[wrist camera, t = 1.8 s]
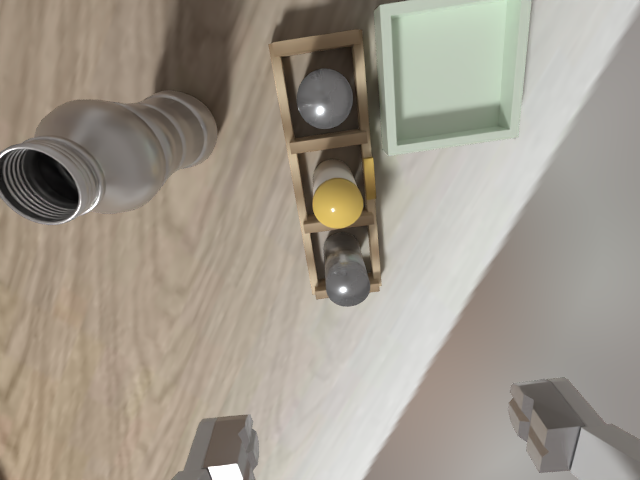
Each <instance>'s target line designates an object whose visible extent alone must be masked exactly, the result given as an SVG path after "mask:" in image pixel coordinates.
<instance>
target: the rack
mask: <svg viewBox="0 0 640 480" xmlns="http://www.w3.org/2000/svg"><path fill="white" fill-rule="evenodd" d="M268 45H269V51H270V56H271V62H272V68H273V73H274V79H275V85H276V90H277V96H278V101H279V107H280V113H281V118H282V124H283V130H284V135H285V141H286V147H287V152H288V158H289V164H290V169H291V175H292V181H293V186H294V192H295V198H296V203H297V209H298V215H299V220H300V226H301V232H302V237H303V243H304V249H305V254H306V260H307V266H308V271H309V277H310V283H311V288H312V294H313V295H314V294H315V295H316V299H323V298H329V297H328V295H327V292H326V279H325V278H324V279H318V275H317V269H316V263H315V257H314V251H313V245H312V239H311V233H314V232H322V231H329V230H336V229H337V228H330V227H327V226H325V225H323V224H322V223H321V222H320V221H319V220H318V219H317V218H316V216H315V214H312V215H307V208H306V202H305V196H304V190H303V184H302V178H301V172H300V166H299V160H298V154H297V153H304V152H311V151H318V150H325V149H332V148H339V147H346V146H352V145H359V144H360V146H361V157H362V169H363V180H364V191H365V202H366V207H363V209H362V213H361V215H360V216H359V218H358V219H357V220H356V221H355V222H354V223H353V224H351V225H350V226H347V227H344V228H351V227H358V226H366V225H368V236H369V247H370V259H371V270H372V272H370V273H367V274H368V278H369V281H370V292H377V291H380V290H379V286H382V285H381V272H380V259H379V245H378V232H377V219H376V206H375V199H376V188H375V175H374V162H373V157H372V154H371V141H370V128H369V115H368V102H367V89H366V76H365V63H364V50H363V37H362V30H359V29H354V30H348V31H342V32H335V33H329V34H323V35H316V36H310V37H304V38H297V39H291V40H285V41H278V42H272V44H268ZM349 46H352V56H353V67H354V79H355V90H356V101H357V112H358V124H359V129H354V130H347V131H340V132H333V133H326V134H320V135H313V136H306V137H299V138H295V136H294V130H293V124H292V118H291V112H290V105H289V99H288V93H287V87H286V81H285V75H284V69H283V63H282V57H285V56H292V55H298V54H304V53H311V52H317V51H324V50H330V49H336V48H343V47H349ZM344 228H338V229H344ZM370 292H369V293H370Z"/></svg>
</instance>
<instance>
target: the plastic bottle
mask: <svg viewBox="0 0 640 480" xmlns="http://www.w3.org/2000/svg"><path fill="white" fill-rule="evenodd" d="M216 141H217V125H216V122H215V119H214V117H213V115H212V114H211V112H210V110H209V109H208V108H207V107H206V106H205V105H204V104H203V103H202V102H201V101H200V100H198V99H196V98H195V97H193V96H191V95H188V94H185V93H183V92H179V91H174V90H165V91H161V92H157V93H155V94H153V95H151V96H149V97H147V98H146V99H144V100H143V101H141V102H138V103H128V104H123V103H117V102H110V101H103V100H74V101H70V102H66V103H64V104H62V105H60V106H58V107H56V108H55V109H54V110H53V111H51V112H50V113H49V114H48V115H47V116H45V117H44V118H43V119H42V120H41V122H40V124H39V125H38V127H37V128H36V132H35V135H34V138H30V139H28V140H26V141H24V142H23V143H21V144H17V145H13V146H10V147H8V148H6V149H5V150H3V151H1V152H0V197H1V198H2V200H3V201H4V202H5V203H6V204H7V205H8V206H9V207H10V208H11V209H12V210H14V211H15V212H16V213H18V214H19V215H21V216H22V217H24V218H26V219H28V220H31V221H33V222H37V223H40V224H46V225H58V224H63V223H66V222H69V221H71V220H73V219H75V218H76V217H78V216H80V215H84V214H86V213H88V212H90V211H91V212H96V213H102V214H115V213H122V212H127V211H132V210H135V209H137V208H139V207H142V206H143V205H145V204H146V203H147V202H149V201H150V200H151V199H152V198H153V197H154V196H155V195H156V194H157V192H158V191H159V190H160V189H161V187H162V186H163V184H164V183H165V181H166V180H167V179H168V178H169V177H170V176H171V175H172V174H173V173H174V172H175V171H177V170H180V169H184V168H189V167H193V166H196V165H198V164H200V163H202V162H203V161H205V160H206V159H207V158H208V157H209V156H210V155H211V153H212V151H213V149H214V147H215V145H216Z"/></svg>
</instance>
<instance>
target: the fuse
mask: <svg viewBox="0 0 640 480" xmlns="http://www.w3.org/2000/svg"><path fill="white" fill-rule="evenodd" d="M362 209H363V198H362V195H361V193H360V190H359V189H358V187H357V184H356V182H355V180H354V177H353V175H352V172H351V170H350V168H349V167H348V166H347V164H345V163H344V162H342V161H340V160H337V159H329V160H326V161H323V162H322V163H320V164H319V165H318V166H317V168H316V169H315V171H314V174H313V211H314V214H315V216H316V218H317V219H318V220H319V221H320V222H321V223H322V224H323V225H325V226H327V227H330V228H337V229H338V228H344V227H347V226H350V225H351V224H353V223H354V222H355V221H356V220H357V219H358V218H359V216H360V215H361V213H362Z"/></svg>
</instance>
